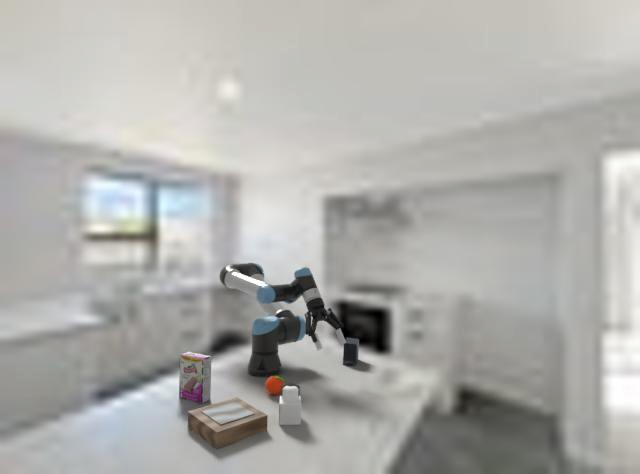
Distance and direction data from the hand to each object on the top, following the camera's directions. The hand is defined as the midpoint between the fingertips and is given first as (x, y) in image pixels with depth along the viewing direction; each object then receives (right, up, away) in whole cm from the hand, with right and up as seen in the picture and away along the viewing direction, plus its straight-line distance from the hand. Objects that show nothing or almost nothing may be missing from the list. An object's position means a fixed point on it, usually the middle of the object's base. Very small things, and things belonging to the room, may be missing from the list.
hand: (332, 346), depth 181 cm
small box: (+10, -15, +29) cm, 34 cm away
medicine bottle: (-15, -16, -35) cm, 42 cm away
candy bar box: (-51, -15, -20) cm, 57 cm away
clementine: (-22, -15, -13) cm, 30 cm away
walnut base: (-35, -15, -42) cm, 57 cm away
